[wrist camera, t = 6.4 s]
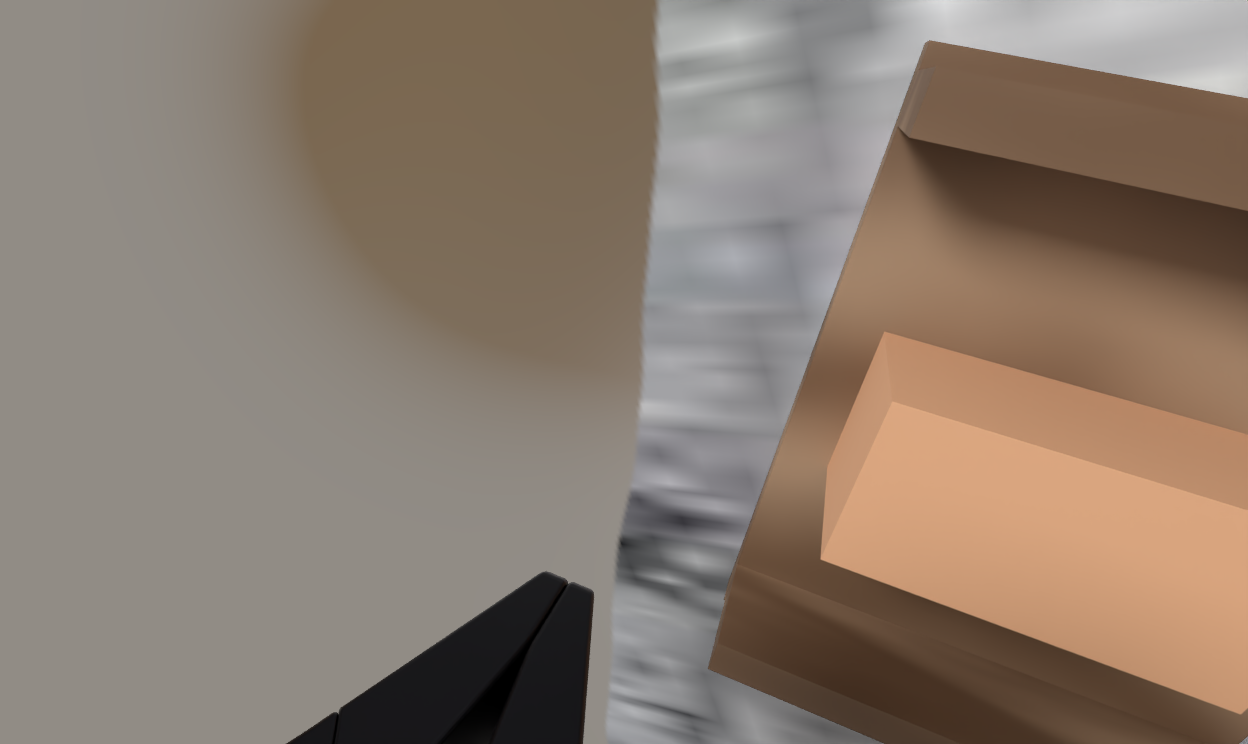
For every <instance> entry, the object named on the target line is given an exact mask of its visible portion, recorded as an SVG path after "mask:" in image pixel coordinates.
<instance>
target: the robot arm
mask: <svg viewBox="0 0 1248 744" xmlns="http://www.w3.org/2000/svg"><path fill="white" fill-rule="evenodd" d="M593 603H594V592H593V591H592V590H591V589H589V588H586V587H584V586H581V585H579V584H577V583H574V582H571V583H569V584H568V581H567V580H566V579H565V578H562V577H560V576H557V575H555V574H553V573H550V572H542V573H540V574H538V575H537V576H535V577H534V578H532V579H531V580H529V581H528V582H526V583H525V584H523V585H522V586H521V587H519V588H518V589H516V590H515V591H513V592H512V593H510V594H509V595H507V596H506V597H504V598H503V599H501V600H500V601H498V602H497V603H495V604H494V605H492V606H491V607H490V608H488V609H486V610H485V611H483V612H482V613H480V614H479V615H478V616H476V617H475V618H473V619H472V620H470V621H469V622H467V623H466V624H464V625H463V626H461V627H460V628H458V629H457V630H455V631H454V632H452V633H451V634H449V635H448V636H446V637H445V638H444V639H442V640H441V641H439V642H437V643H436V644H435V645H433V646H432V647H430V648H429V649H427V650H426V651H424V652H423V653H422V654H420V655H418V656H417V657H415V658H414V659H412V660H411V661H409V662H408V663H406V664H405V665H403V666H402V667H400V668H399V669H398V670H396V671H395V672H393V673H392V674H390V675H389V676H387V677H386V678H384V679H383V680H381V681H380V682H378V683H377V684H376V685H374V686H372V687H371V688H369V689H368V690H366V691H365V692H364V693H362V694H360V695H359V696H357V697H356V698H355V699H353V700H352V701H350V702H349V703H347V704H346V705H344V706H343V707H341V708H340V710H339V714H338V713H337V712H334V713H332V714H330V715H329V716H327V717H326V718H324V719H323V720H321V721H320V722H319V723H317V724H316V725H314V726H313V727H311V728H310V729H308V730H307V731H305V732H304V733H302V734H301V735H299V736H297V737H296V738H294V739H293V740H291V741H290V742H288V743H287V744H583V735H584V722H585V709H586V696H587V682H588V670H589V655H590V643H591V629H592V616H593Z"/></svg>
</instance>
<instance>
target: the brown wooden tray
mask: <svg viewBox="0 0 1248 744" xmlns="http://www.w3.org/2000/svg"><path fill="white" fill-rule="evenodd" d="M884 332H888V333H891V334H895V335H898V336H902V337H905V338H909V339H912V340H916V341H919V342H923V343H927V344H930V345H934V346H937V347H941V348H944V349H948V350H951V351H955V352H958V353H962V354H965V355H969V356H972V357H976V358H979V359H983V360H986V361H990V362H993V363H997V364H1001V365H1004V366H1008V367H1011V368H1015V369H1018V370H1022V371H1025V372H1029V373H1032V374H1036V375H1039V376H1043V377H1046V378H1050V379H1053V380H1057V381H1060V382H1064V383H1067V384H1071V385H1075V386H1078V387H1082V388H1085V389H1089V390H1092V391H1096V392H1099V393H1103V394H1106V395H1110V396H1113V397H1117V398H1120V399H1124V400H1127V401H1131V402H1134V403H1138V404H1141V405H1145V406H1149V407H1152V408H1156V409H1159V410H1163V411H1166V412H1170V413H1173V414H1177V415H1180V416H1184V417H1187V418H1191V419H1194V420H1198V421H1201V422H1205V423H1208V424H1212V425H1215V426H1219V427H1223V428H1226V429H1230V430H1233V431H1237V432H1240V433H1244V434H1247V435H1248V98H1242V97H1237V96H1231V95H1226V94H1220V93H1215V92H1210V91H1204V90H1199V89H1193V88H1188V87H1182V86H1177V85H1171V84H1166V83H1160V82H1155V81H1149V80H1144V79H1138V78H1133V77H1127V76H1122V75H1116V74H1111V73H1105V72H1100V71H1094V70H1089V69H1083V68H1078V67H1072V66H1067V65H1062V64H1056V63H1051V62H1045V61H1040V60H1034V59H1029V58H1023V57H1018V56H1012V55H1007V54H1001V53H996V52H990V51H985V50H979V49H974V48H968V47H963V46H957V45H952V44H946V43H941V42H935V41H930V40H929V41H928V42H926V43H925V45H924V47H923V50H922V53H921V56H920V58H919V61H918V64H917V67H916V69H915V72H914V75H913V78H912V80H911V83H910V86H909V89H908V91H907V94H906V97H905V99H904V102H903V105H902V108H901V110H900V113H899V116H898V119H897V121H896V124H895V127H894V130H893V132H892V135H891V138H890V141H889V143H888V146H887V149H886V152H885V154H884V157H883V160H882V162H881V165H880V168H879V171H878V173H877V176H876V179H875V182H874V184H873V187H872V190H871V193H870V195H869V198H868V201H867V204H866V206H865V209H864V212H863V215H862V217H861V220H860V223H859V225H858V228H857V231H856V234H855V236H854V239H853V242H852V245H851V247H850V250H849V253H848V256H847V258H846V261H845V264H844V267H843V269H842V272H841V275H840V278H839V280H838V283H837V286H836V288H835V291H834V294H833V297H832V299H831V302H830V305H829V308H828V310H827V313H826V316H825V319H824V321H823V324H822V327H821V330H820V332H819V335H818V338H817V341H816V343H815V346H814V349H813V351H812V354H811V357H810V360H809V362H808V365H807V368H806V371H805V373H804V376H803V379H802V382H801V384H800V387H799V390H798V393H797V395H796V398H795V401H794V404H793V406H792V409H791V412H790V414H789V417H788V420H787V423H786V425H785V428H784V431H783V434H782V436H781V439H780V442H779V445H778V447H777V450H776V453H775V456H774V458H773V461H772V464H771V467H770V469H769V472H768V475H767V477H766V480H765V483H764V486H763V488H762V491H761V494H760V497H759V499H758V502H757V505H756V508H755V510H754V513H753V516H752V519H751V521H750V524H749V527H748V530H747V532H746V535H745V538H744V540H743V543H742V546H741V549H740V551H739V554H738V557H737V560H736V562H735V565H734V568H733V571H732V573H731V576H730V579H729V582H728V586H727V590H726V594H725V598H724V600H725V603H724V607H723V611H722V615H721V619H720V623H719V627H718V631H717V634H716V638H715V642H714V646H713V650H712V654H711V658H710V662H709V666H708V669H710V670H712V671H714V672H717V673H719V674H721V675H724V676H726V677H728V678H731V679H733V680H736V681H738V682H740V683H743V684H745V685H747V686H750V687H752V688H754V689H757V690H759V691H762V692H764V693H766V694H769V695H771V696H773V697H776V698H778V699H780V700H783V701H785V702H788V703H790V704H792V705H795V706H797V707H799V708H802V709H804V710H806V711H809V712H811V713H814V714H816V715H818V716H821V717H823V718H825V719H828V720H830V721H832V722H835V723H837V724H840V725H842V726H844V727H847V728H849V729H851V730H854V731H856V732H858V733H861V734H863V735H866V736H868V737H870V738H873V739H875V740H877V741H880V742H882V743H884V744H1239V743H1240V742H1241V741H1243V740H1244V739H1245V738H1246V737H1247V736H1248V708H1247V709H1246V710H1245V711H1244V712H1243V713H1242V714H1238V713H1235V712H1233V711H1230V710H1227V709H1224V708H1222V707H1219V706H1216V705H1214V704H1211V703H1208V702H1206V701H1203V700H1200V699H1197V698H1195V697H1192V696H1189V695H1187V694H1184V693H1181V692H1178V691H1176V690H1173V689H1170V688H1168V687H1165V686H1162V685H1159V684H1157V683H1154V682H1151V681H1149V680H1146V679H1143V678H1140V677H1138V676H1135V675H1132V674H1130V673H1127V672H1124V671H1121V670H1119V669H1116V668H1113V667H1111V666H1108V665H1105V664H1103V663H1100V662H1097V661H1094V660H1092V659H1089V658H1086V657H1084V656H1081V655H1078V654H1075V653H1073V652H1070V651H1067V650H1065V649H1062V648H1059V647H1056V646H1054V645H1051V644H1048V643H1046V642H1043V641H1040V640H1037V639H1035V638H1032V637H1029V636H1027V635H1024V634H1021V633H1018V632H1016V631H1013V630H1010V629H1008V628H1005V627H1002V626H1000V625H997V624H994V623H991V622H989V621H986V620H983V619H981V618H978V617H975V616H972V615H970V614H967V613H964V612H962V611H959V610H956V609H953V608H951V607H948V606H945V605H943V604H940V603H937V602H934V601H932V600H929V599H926V598H924V597H921V596H918V595H915V594H913V593H910V592H907V591H905V590H902V589H899V588H897V587H894V586H891V585H888V584H886V583H883V582H880V581H878V580H875V579H872V578H869V577H867V576H864V575H861V574H859V573H856V572H853V571H850V570H848V569H845V568H842V567H840V566H837V565H834V564H831V563H829V562H826V561H823V560H821V559H820V558H821V545H822V531H823V518H824V504H825V491H826V478H827V467H828V464H829V462H830V459H831V457H832V455H833V452H834V450H835V448H836V445H837V443H838V441H839V438H840V436H841V433H842V431H843V429H844V426H845V424H846V422H847V419H848V417H849V414H850V412H851V410H852V407H853V405H854V403H855V400H856V398H857V395H858V393H859V391H860V388H861V386H862V384H863V381H864V379H865V376H866V374H867V372H868V369H869V367H870V365H871V362H872V360H873V357H874V355H875V353H876V350H877V348H878V346H879V343H880V341H881V338H882V336H883V334H884Z"/></svg>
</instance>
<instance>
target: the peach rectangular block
mask: <svg viewBox="0 0 1248 744" xmlns="http://www.w3.org/2000/svg"><path fill="white" fill-rule="evenodd" d="M820 559H821V560H823V561H826V562H829V563H831V564H834V565H837V566H840V567H842V568H845V569H848V570H850V571H853V572H856V573H859V574H861V575H864V576H867V577H869V578H872V579H875V580H878V581H880V582H883V583H886V584H888V585H891V586H894V587H897V588H899V589H902V590H905V591H907V592H910V593H913V594H915V595H918V596H921V597H924V598H926V599H929V600H932V601H934V602H937V603H940V604H943V605H945V606H948V607H951V608H953V609H956V610H959V611H962V612H964V613H967V614H970V615H972V616H975V617H978V618H981V619H983V620H986V621H989V622H991V623H994V624H997V625H1000V626H1002V627H1005V628H1008V629H1010V630H1013V631H1016V632H1018V633H1021V634H1024V635H1027V636H1029V637H1032V638H1035V639H1037V640H1040V641H1043V642H1046V643H1048V644H1051V645H1054V646H1056V647H1059V648H1062V649H1065V650H1067V651H1070V652H1073V653H1075V654H1078V655H1081V656H1084V657H1086V658H1089V659H1092V660H1094V661H1097V662H1100V663H1103V664H1105V665H1108V666H1111V667H1113V668H1116V669H1119V670H1121V671H1124V672H1127V673H1130V674H1132V675H1135V676H1138V677H1140V678H1143V679H1146V680H1149V681H1151V682H1154V683H1157V684H1159V685H1162V686H1165V687H1168V688H1170V689H1173V690H1176V691H1178V692H1181V693H1184V694H1187V695H1189V696H1192V697H1195V698H1197V699H1200V700H1203V701H1206V702H1208V703H1211V704H1214V705H1216V706H1219V707H1222V708H1224V709H1227V710H1230V711H1233V712H1235V713H1238V714H1242V713H1243V712H1244V711H1245V710H1246V709H1247V708H1248V435H1247V434H1244V433H1240V432H1237V431H1233V430H1230V429H1226V428H1223V427H1219V426H1215V425H1212V424H1208V423H1205V422H1201V421H1198V420H1194V419H1191V418H1187V417H1184V416H1180V415H1177V414H1173V413H1170V412H1166V411H1163V410H1159V409H1156V408H1152V407H1149V406H1145V405H1141V404H1138V403H1134V402H1131V401H1127V400H1124V399H1120V398H1117V397H1113V396H1110V395H1106V394H1103V393H1099V392H1096V391H1092V390H1089V389H1085V388H1082V387H1078V386H1075V385H1071V384H1067V383H1064V382H1060V381H1057V380H1053V379H1050V378H1046V377H1043V376H1039V375H1036V374H1032V373H1029V372H1025V371H1022V370H1018V369H1015V368H1011V367H1008V366H1004V365H1001V364H997V363H993V362H990V361H986V360H983V359H979V358H976V357H972V356H969V355H965V354H962V353H958V352H955V351H951V350H948V349H944V348H941V347H937V346H934V345H930V344H927V343H923V342H919V341H916V340H912V339H909V338H905V337H902V336H898V335H895V334H891V333H888V332H884V334H883V336H882V338H881V341H880V343H879V346H878V348H877V350H876V353H875V355H874V357H873V360H872V362H871V365H870V367H869V369H868V372H867V374H866V376H865V379H864V381H863V384H862V386H861V388H860V391H859V393H858V395H857V398H856V400H855V403H854V405H853V407H852V410H851V412H850V414H849V417H848V419H847V422H846V424H845V426H844V429H843V431H842V433H841V436H840V438H839V441H838V443H837V445H836V448H835V450H834V452H833V455H832V457H831V459H830V462H829V464H828V467H827V478H826V491H825V504H824V518H823V531H822V545H821V558H820Z"/></svg>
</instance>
